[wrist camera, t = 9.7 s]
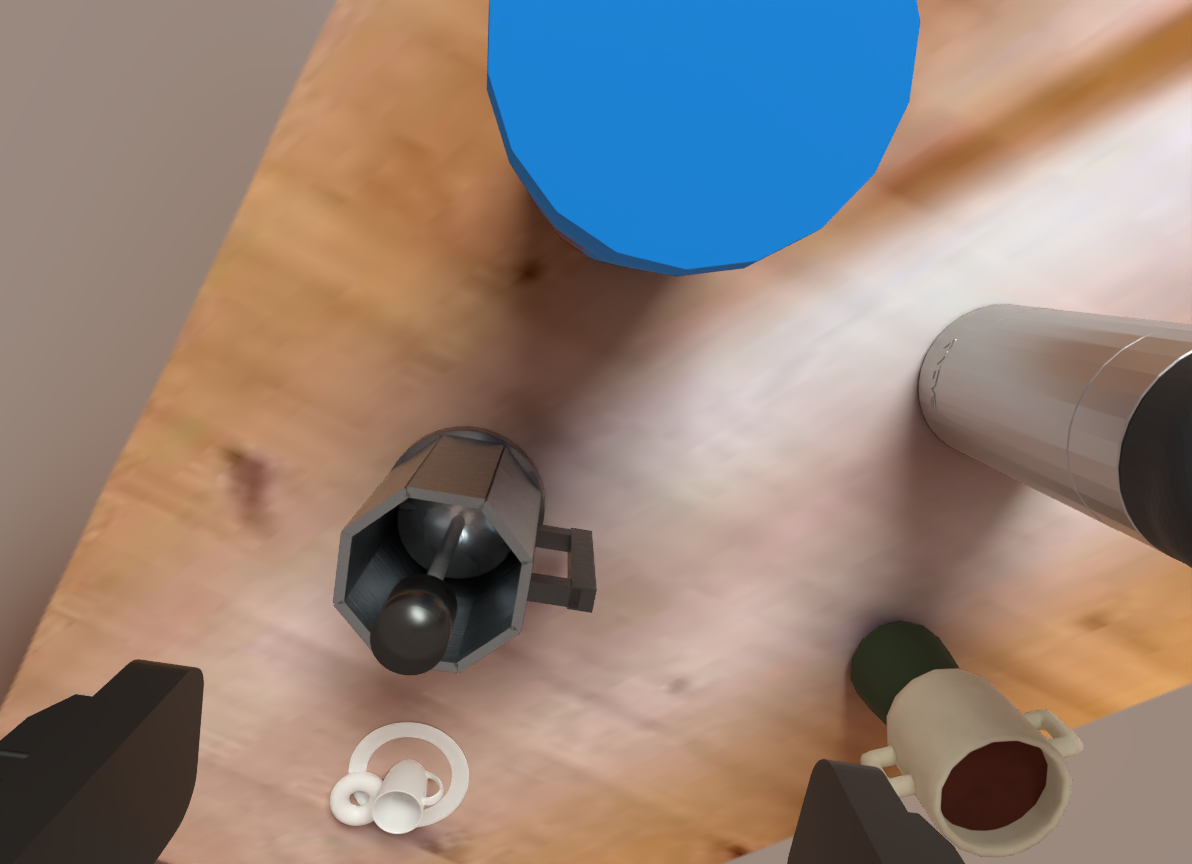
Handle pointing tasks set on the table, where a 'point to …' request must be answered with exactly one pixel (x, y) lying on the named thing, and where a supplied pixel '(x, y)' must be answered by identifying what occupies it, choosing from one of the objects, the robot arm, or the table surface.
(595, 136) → the thermos
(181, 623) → the table surface
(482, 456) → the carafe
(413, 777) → the teacup and saucer
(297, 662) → the table surface
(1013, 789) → the character mug
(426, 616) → the plunger
